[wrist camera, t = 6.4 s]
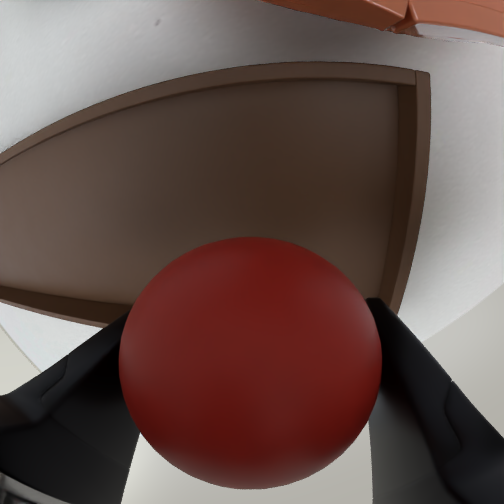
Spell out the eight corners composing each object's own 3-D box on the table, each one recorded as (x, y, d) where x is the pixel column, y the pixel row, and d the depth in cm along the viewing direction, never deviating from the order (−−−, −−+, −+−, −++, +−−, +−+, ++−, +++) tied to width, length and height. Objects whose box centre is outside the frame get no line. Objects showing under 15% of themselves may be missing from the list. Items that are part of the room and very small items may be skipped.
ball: (395, 292, 8) (434, 477, 3) (264, 362, 11) (239, 500, 6) (265, 145, 6) (147, 386, 1) (143, 274, 9) (54, 422, 4)
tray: (404, 74, 8) (430, 72, 6) (379, 312, 15) (387, 344, 13) (-43, 189, 16) (-58, 199, 14) (-3, 284, 23) (-14, 297, 21)
